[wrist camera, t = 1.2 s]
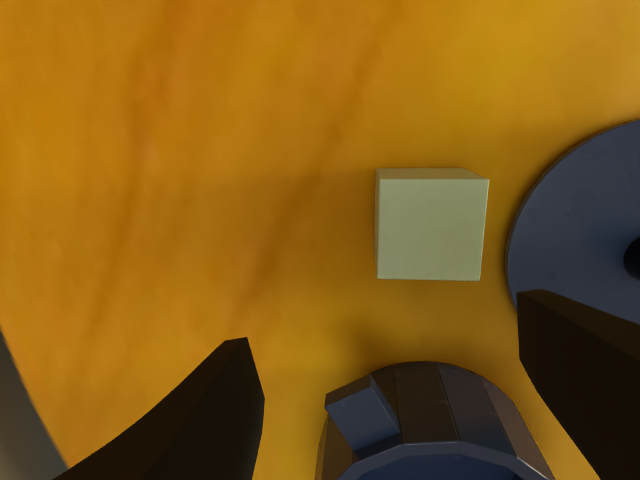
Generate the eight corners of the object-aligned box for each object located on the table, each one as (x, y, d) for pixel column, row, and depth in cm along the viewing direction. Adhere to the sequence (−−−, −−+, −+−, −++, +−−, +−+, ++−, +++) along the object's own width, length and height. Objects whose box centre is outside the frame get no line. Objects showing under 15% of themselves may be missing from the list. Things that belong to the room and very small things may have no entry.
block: (464, 167, 21) (489, 178, 17) (457, 251, 22) (479, 281, 18) (375, 168, 22) (379, 178, 17) (373, 250, 23) (376, 279, 18)
